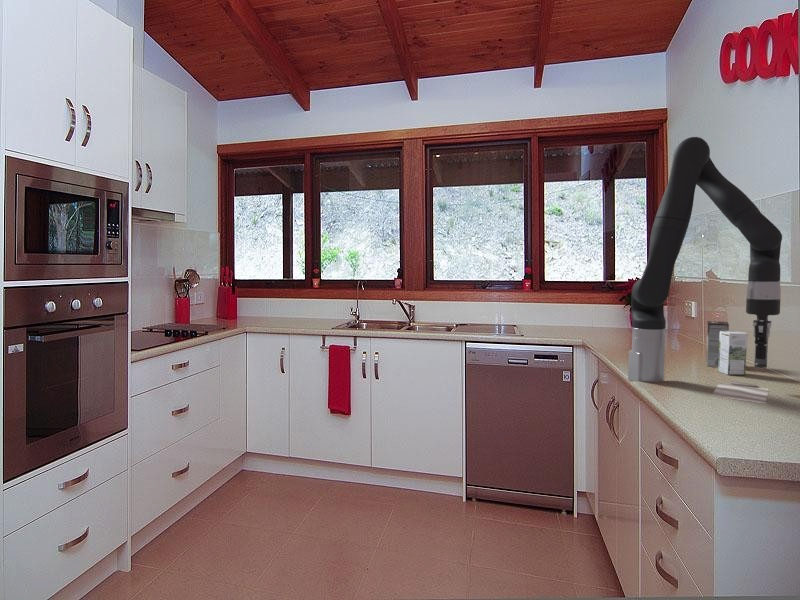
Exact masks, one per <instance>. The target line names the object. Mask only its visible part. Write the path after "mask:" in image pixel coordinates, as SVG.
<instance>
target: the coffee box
mask: <svg viewBox="0 0 800 600" xmlns="http://www.w3.org/2000/svg"><path fill="white" fill-rule="evenodd" d="M706 325H707V326H706V348H705V349H706V352H705V353H706V355H705V356H706V359H705V362H706V367H713V368H718V357H719V336H720V331H730V323H729V322H728V321H714V320H713V321H712V320H707V324H706Z"/></svg>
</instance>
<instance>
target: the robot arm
mask: <svg viewBox="0 0 800 600" xmlns="http://www.w3.org/2000/svg"><path fill="white" fill-rule="evenodd" d="M710 149H711V148H710V146H709V144H708V143H707V141H706V140H705V139H703V138H701V137H700V136H691V137H687V138H685V139H684V140H682V141H681V142H680V143H678V145H677V146H676V148H675V149H674V150H673V153H672V163H671V168H670V172H669V173H670V174H669V177H668V181H667V185H666V188H665V190H664V193H663V195H662V197H661V200H660V203H659V206H658V208H657V210H656V214H655V217H654V221H653V224H652V228H651V230H650V231H651V232H650V235H649V247H648V249H649V250H648V258H647V263H646V266H645V268H644V271H643V274H642V276H641V277H640V278H639V279H637V281H635V282H634V283H633V285H632V288H631V302H630V304H631V306H630V307H631V312H630V313H631V314H630V315H631V316H630V317H631V323H632V325H631V326H632V327H631V328H632V329H631V349H630V350H628V362H627V363H628V365H627V366H628V367H627V369H628V370H627V371H628V372H627V380H629V381H631V382H645V383H662V382H664V381H665V358H666V357H665V355H666V354H665V352H666V328H667V327H666V324H667V323H666V318H665V312H664V310H665V309H664V306H665V304H664V303H665V302H666V300H668V297H669V295H670V288H671V285H672V284H671V283H672V278H673V273H674V269H675V264H676V261H677V259H678V258H679V257H678V256H679V255H680V251H681V248H682V246H683V243H684V240H685V237H686V234H687V232H688V229H689V225H690V222H691V217H692V213H693V209H694V208H693V207H694V199H695V193H696V186H698V187H699V188H700V189H701V190H702V191H703V192H704V193H705V194H706V195H707V196H708V198H709V200H711V202H713V203H714V205H715V206H716V207H717V208H718V209H719V211H720V212H721V213H722V215H724V216H725V218H726V219H727V220H728V221H729V222H730V224H731V225H733V226H734V227H735V228H737V229H738V231H739V232H740V233H741V234H742V235H743V237H744V238H745V239H746V241H747V243H749V256H750V258H749V259H750V260H749V267H748V274H747V275H748V276H747V278H748V279H747V287H746V300H745V303H746V304H745V313H746V314H748V315H755V316H756V319H754V320H752V327H753V337H754V346H755V345H756V359H765V358H766V346H767V338H768V339H769V338H770V335H771V328H772V320H769V316H778V315H780V314H781V297H782V287H781V264H780V259H781V249H782V247H781V246H782V241H783V234H782V232H781V230H780V229H779V228H778V227H777V226H776V225H775V224H774V223H773V222H772V221H771V220H769V218H767V216H765V215H764V213H762V212H761V211H760V210H759V208H758V207H757V205H756V204H755V203H754V202H753V201H752V200H751V199H750V198H749V197H748V195H747V194H745V193H744V192H743V191H742V190H741V189H740V188H739V187H738V186H736V185H735V184H733V183H732V182H731V181H730V180H728V179H727V178H726V177H725V176H724V174H722V173H721V172H720V171H719V169H718V168H717V166H716V165H715V163H714V162H713V161H712V158H711V151H710ZM759 337H760V338H764V340H758V338H759Z"/></svg>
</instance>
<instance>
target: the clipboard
mask: <svg viewBox="0 0 800 600" xmlns="http://www.w3.org/2000/svg"><path fill="white" fill-rule="evenodd" d="M769 391H770V389H769V388H767V387H758V384H756V383H748V382H747V383H746V382H740V381H731V382H730V383H725V382H719V383H718V385H717V386H716V387H715V389H714V390H713V392H712V393H711V397H717V398H725V399H732V400H738V401H745V402H753V403H757V404H758V403H759V404H767V399H768V394H769Z"/></svg>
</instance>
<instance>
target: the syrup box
mask: <svg viewBox="0 0 800 600" xmlns="http://www.w3.org/2000/svg"><path fill="white" fill-rule="evenodd" d="M748 335H749V334H748V333H747V332H744V331H742V330H741V331H740V330H729V331H720V336H719V357H718V367H717V372H719V373H721V374H724V375H727V376H746V369H747V366H746V365H747V349H748V348H747V347H748Z"/></svg>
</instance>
